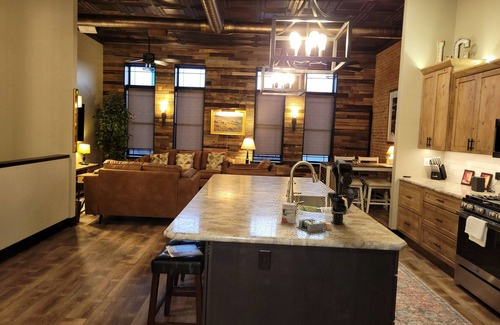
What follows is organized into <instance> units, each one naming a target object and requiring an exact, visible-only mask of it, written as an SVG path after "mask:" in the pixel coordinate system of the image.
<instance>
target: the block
mask: <svg viewBox="0 0 500 325" xmlns="http://www.w3.org/2000/svg"><path fill="white" fill-rule="evenodd" d="M319 222H322V223H324V230H325V231H326V230H327V231H330V230H332V227H333V223H331V222H329V221H326V220H319Z"/></svg>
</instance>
